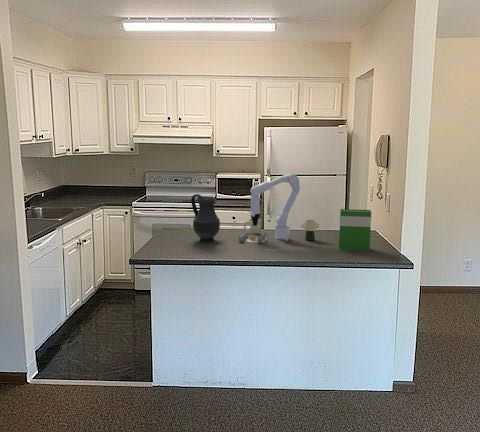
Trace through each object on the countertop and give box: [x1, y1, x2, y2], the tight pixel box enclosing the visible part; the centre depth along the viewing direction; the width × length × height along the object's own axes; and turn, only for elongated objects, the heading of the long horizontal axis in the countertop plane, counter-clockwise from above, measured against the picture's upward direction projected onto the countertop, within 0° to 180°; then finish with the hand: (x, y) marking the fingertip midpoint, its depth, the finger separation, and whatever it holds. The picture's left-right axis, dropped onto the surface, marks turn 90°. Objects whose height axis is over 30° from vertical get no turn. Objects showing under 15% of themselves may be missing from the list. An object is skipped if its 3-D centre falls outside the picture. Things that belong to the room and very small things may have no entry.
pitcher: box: [190, 193, 221, 243], centre depth 322 cm, size 17×21×30 cm
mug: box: [243, 218, 262, 235], centre depth 345 cm, size 8×13×10 cm, turn 81°
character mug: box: [301, 219, 320, 241], centre depth 326 cm, size 11×7×13 cm, turn 83°
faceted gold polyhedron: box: [249, 235, 258, 241], centre depth 322 cm, size 4×5×2 cm
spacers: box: [238, 232, 266, 245], centre depth 321 cm, size 15×14×4 cm
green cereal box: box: [338, 208, 372, 252], centre depth 300 cm, size 18×7×24 cm, turn 80°
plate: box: [243, 237, 267, 244], centre depth 321 cm, size 15×16×1 cm
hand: (255, 225), depth 326 cm, fingers closed
